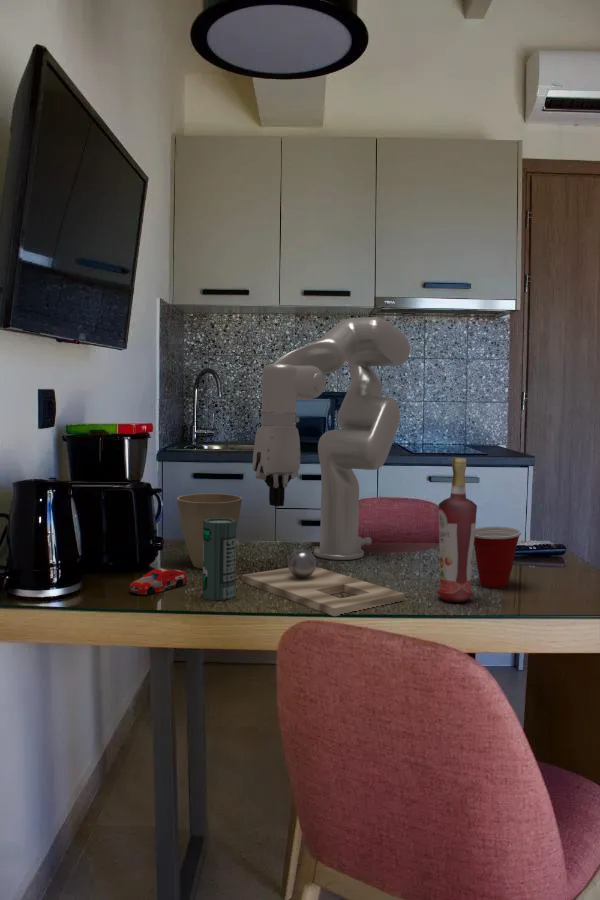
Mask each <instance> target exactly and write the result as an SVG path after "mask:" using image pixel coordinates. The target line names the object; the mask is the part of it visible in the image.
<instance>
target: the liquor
mask: <svg viewBox="0 0 600 900" xmlns="http://www.w3.org/2000/svg"><path fill="white" fill-rule="evenodd" d="M451 464H452V465H451V467H452V468H451V469H452V480H451V489H450V495H449V497H448V498H445V499H442V501H441V502H439V503H438V536H439V537H438V541H439V542H438V543H439V588H438V590H437V591H436V593H437V594H438V596H440V598H441V599H442V600H444V601H445V602H447V601H448V602H449V603H452V602H456V603H455V604H460V603H459V602H462V603H465V602H467V601H469V599H470V598H471V597H473V592H472V589H471V588H472V572H473V571H472V570H473V569H472V568H473V557H474V555H473V554H474V548H475V547H474V538H475V528H476V525H477V514H478V513H477V509H478V505H477V504H476V503H475V502H474V501H473V500H471V499H468V498H467V494H466V493H467V491H466V470H467V469H466V468H467V458H465V457H452V461H451ZM457 602H458V603H457Z"/></svg>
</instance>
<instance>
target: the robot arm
mask: <svg viewBox="0 0 600 900" xmlns="http://www.w3.org/2000/svg"><path fill="white" fill-rule="evenodd" d="M410 349H411V348H410V342H409V340H408V338H407V336H406V335H405V334H404V333H403V332H402V331H401V330H400V329H399V328H397V327H396V326H395V325H393V324H392V323H390V322H389V321H388V320H386V319H383V318H381V317H378V316H372V317H371V316H370V317H369V316H368V317H367V316H366V317H351V318H345V319H343V320H342V319H341V320H340V321H339V322H337V323H336V324H335V325H334V326H332V327H331V328H330V329H329V330H328V331H327V332H326V333H325V334H324V335H323V336H321V337H320V338H319V339H318V340H316V341H313V342H311V343H308V344H306V345H304V346H302V347H299V348H296V349H293V350H292V351H289V352H288V353H285V354H283V355H281V356H280V357H279V358H278V359H276V360H275V361H274V362H273V363H269V364H265V365H264V367H263V369H262V377H261V378H262V379H261V381H262V382H261V383H262V385H261V420H260V421H261V422H260V423H261V426H259V427H257V430H256V433H255V437H254V438H255V439H254V445H253V453H252V455H253V456H252V469H253V472H254V473H255V472H256V473H255V478H256V480H261V481H264V482H265V484H266V486H267V487H268V488H269V489H268V493H269V494H268V501H269V502H268V504H269V506H273V507H283V506H285V494H286V493H285V489H286V488H287V487H288V483H290V481H291V480H293V479H296V478H298V477H299V471H300V468H301V443H300V434H299V430H298V429H299V428H297V423H299V422H300V417H299V416H297V400H311V399H315V398H319V396H321V395H322V393H324V390H325V388H326V382H327V381H326V376H325V375H326V374H331V373H333V372H336V371H338V370H340V369H341V368H343V366H344V365H345V364H346V363H347V364H348V369H349V373H350V382H349V383H350V384H349V386H348V389H347V391H346V393H345V396H344V399H343V400H342V402H341V405H340V408H339V409H338V413H337V414H338V415H337V419H336V420H337V424H338V427H339V429H331V430H327V431H326V432H324V433H323V434H322V435H321V436H320V437H319V440H318V443H317V453H318V459H319V465H320V475H321V477H320V478H321V481H320V482H321V489H320V528H319V531H320V533H319V536H320V537H319V547H318V546H317V547H316V548H314V550H313V555H314V557H315V556H316V557H318V558H320V559H326V560H332V561H333V560H337V561H347V560H348V561H349V560H351V561H352V560H357V559H361V558H363V557H364V555H365V551H364V550H363V549H362V547H363V546H368V545H369V546H371V545H372V542H373V541H372V538H371V537H369V536H368V537H367V536H366V537H362V536H359V515H360V514H359V512H360V511H359V510H360V508H359V507H360V484H359V480H358V478H357V476H356V475H355V473H354V471H353V470H364V471H365V470H366V471H369V470H370V471H375V470H379V469H380V468H382V467H383V466H384V464H385V462H386V461H387V458H388V455H389V453H390V451H391V448H392V445H393V443H394V440H395V437H396V435H397V433H398V429H399V425H400V420H401V412H400V411H401V410H400V407H399V405H398V403H397V401H396V400H394V399H393V398H391V397H388V396H381V395H382V392H383V385H382V382H381V380H380V378H379V377H378V375H377V374H376V373H375V371H374V370H373V367H398V366H402V365H403V364H405V363H406V362H407V360H408V359H409V357H410V353H411V352H410Z"/></svg>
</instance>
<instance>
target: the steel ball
mask: <svg viewBox="0 0 600 900" xmlns="http://www.w3.org/2000/svg"><path fill="white" fill-rule="evenodd" d="M316 567H317V559H316V557H315V555H314V553H312V552H311V551H309V550H307V549H301V548H300V549H297V550H294V551H293V552H292V553H291V554H290V555H289V557H288V559H287V568H289V571H290V572H291V574H292V575H294V576H295V577H297V578H306V577H309V576H310V575H312V574H313V572H314V571H315V568H316Z"/></svg>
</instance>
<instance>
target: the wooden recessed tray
mask: <svg viewBox="0 0 600 900" xmlns="http://www.w3.org/2000/svg"><path fill="white" fill-rule="evenodd" d="M241 583H244V584H246V583H247V584H246V585H248V586H249V585H250V586H252V587H254V586H255V588H257V589H260V590H262V591H265V592H268V593H271V594H273V595H276V596H279V597H281V598H283V599H287V600H290V601H292V602H294V603H298V604H300V605H303V606H305V607H308V608H311V609H312V610H313V609H314V610H316V611H319V612H321V611H322V612H321V613H325V614H326V613H327V615H329V616H332V617H338V616H341V615H340V614H343V615H345V614H344V613H348V612H352V611H357V612H360V611H359V610H361V611H364V610H363V609H366V610H368V609H367V608H370V609H373V608H372V607H375V608H377V607H376V606H379V607H382V606H381V605H384V606H386V605H385V604H389V605H392V604H391V603H393V604H396V603H395V602H398V603H401V602H400V601H402V602H404V601H405V592H402V591H397V590H395V589H392V588H388V587H385V586H381V585H378V584H375V583H373V582H367V581H365V580H361V579H358V578H355V577H352V576H348V575H346V574H341V573H339V572H334V571H331V570H328V569H325V568H322V567H318V566H316V568H315V571H314V572H313V574H312V575H310V576H309V577H306V578H297V577H295V576H294V575H292V574H291V572H290V571H289V568H288V567H284V568H278V569H271V570H265V571H258V572H253V573H245V574H242V575H241ZM340 593H347V594H350V595H351V596H348V597H346V596H345V597H342V598H340V597H337V596H334V595H335V594H340ZM333 594H334V595H333ZM352 613H353V612H352ZM348 614H349V613H348Z"/></svg>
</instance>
